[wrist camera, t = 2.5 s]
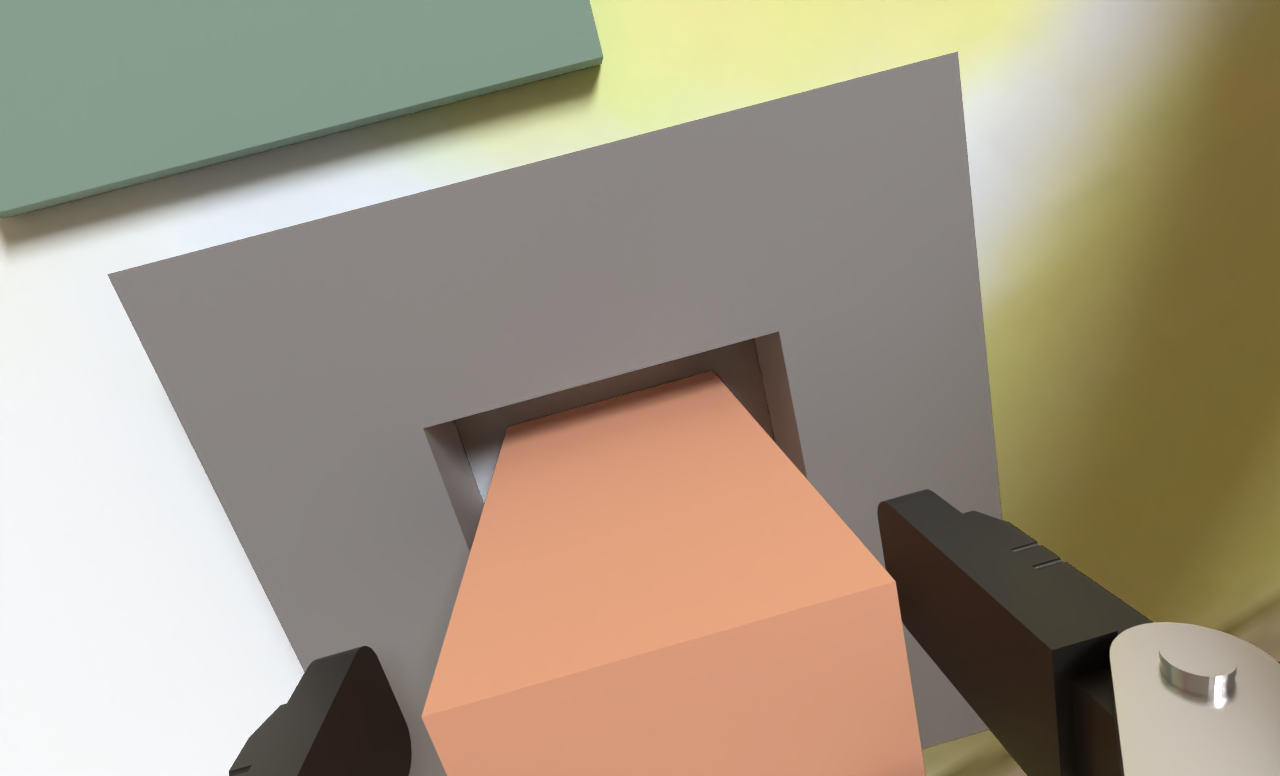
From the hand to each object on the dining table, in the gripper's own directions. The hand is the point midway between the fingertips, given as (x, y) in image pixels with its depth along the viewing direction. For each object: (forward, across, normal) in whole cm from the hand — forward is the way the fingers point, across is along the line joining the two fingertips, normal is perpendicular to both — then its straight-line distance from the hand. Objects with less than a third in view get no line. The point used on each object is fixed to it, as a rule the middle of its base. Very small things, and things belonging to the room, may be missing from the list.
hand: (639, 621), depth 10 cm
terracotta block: (+4, 0, 0) cm, 5 cm away
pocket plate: (+4, 0, 0) cm, 4 cm away
